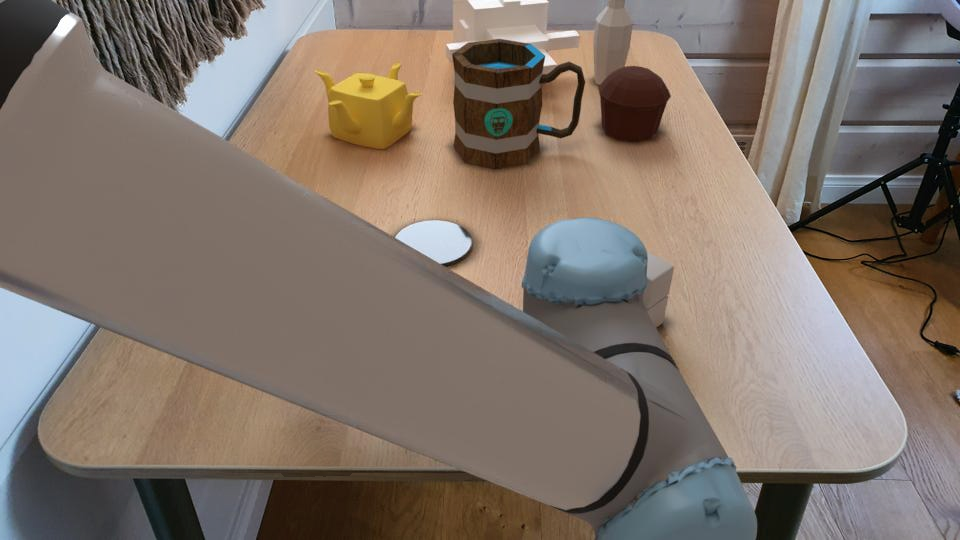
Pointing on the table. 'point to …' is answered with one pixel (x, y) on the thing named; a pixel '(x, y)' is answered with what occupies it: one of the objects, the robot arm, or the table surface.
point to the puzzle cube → (657, 288)
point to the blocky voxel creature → (508, 26)
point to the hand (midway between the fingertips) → (272, 255)
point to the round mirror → (438, 240)
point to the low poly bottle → (611, 39)
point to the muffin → (632, 103)
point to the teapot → (369, 108)
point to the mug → (504, 102)
